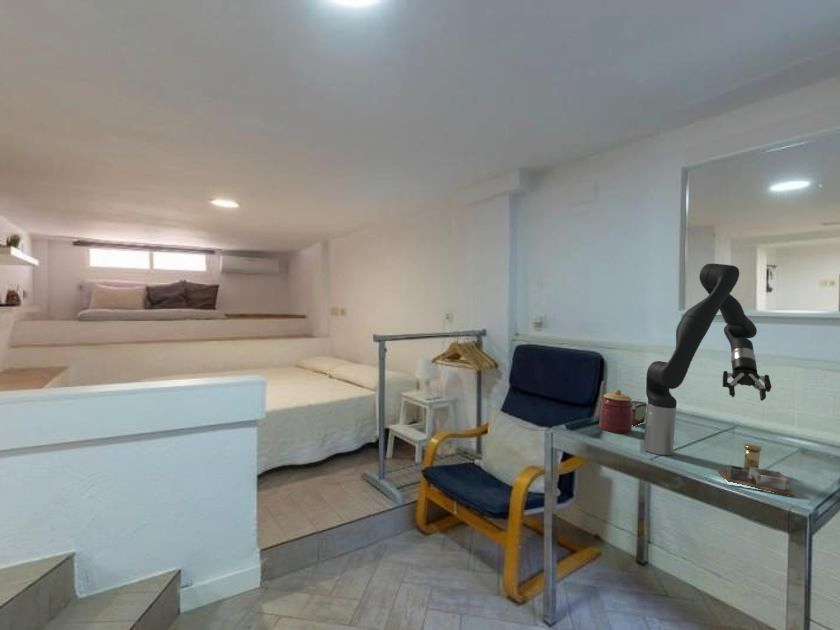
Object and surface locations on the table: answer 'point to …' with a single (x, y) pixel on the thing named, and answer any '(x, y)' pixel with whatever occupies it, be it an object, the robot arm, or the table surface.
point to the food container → (638, 412)
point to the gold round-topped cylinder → (751, 456)
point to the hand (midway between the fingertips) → (747, 397)
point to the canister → (616, 413)
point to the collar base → (758, 479)
